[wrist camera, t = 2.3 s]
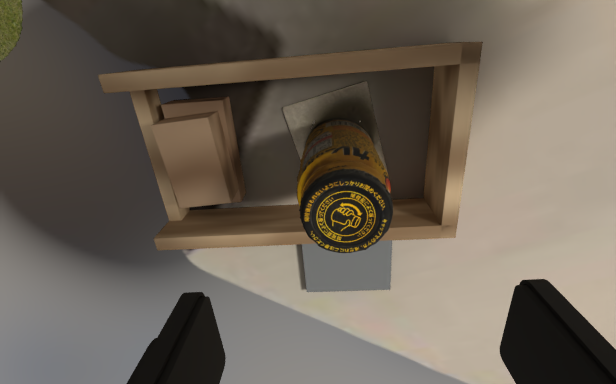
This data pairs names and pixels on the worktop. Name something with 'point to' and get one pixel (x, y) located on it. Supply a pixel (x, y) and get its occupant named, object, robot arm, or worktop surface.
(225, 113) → the offcut lower
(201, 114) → the offcut upper
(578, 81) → the worktop surface
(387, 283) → the coaster
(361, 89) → the condiment
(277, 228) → the rack
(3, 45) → the mat
